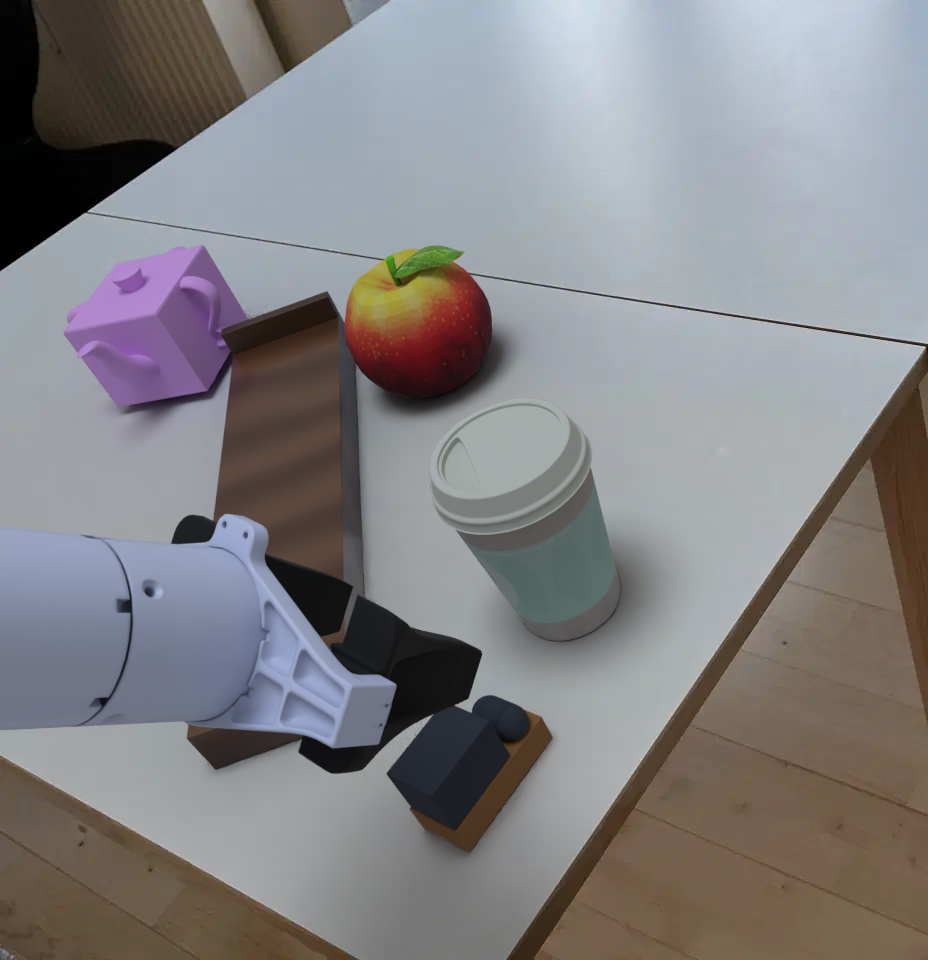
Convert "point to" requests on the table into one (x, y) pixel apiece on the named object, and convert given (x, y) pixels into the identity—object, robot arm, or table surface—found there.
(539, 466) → the coffee cup
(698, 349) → the table surface
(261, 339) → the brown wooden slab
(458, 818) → the cube on wooden base
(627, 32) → the table surface
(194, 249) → the teapot
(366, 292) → the fruit
